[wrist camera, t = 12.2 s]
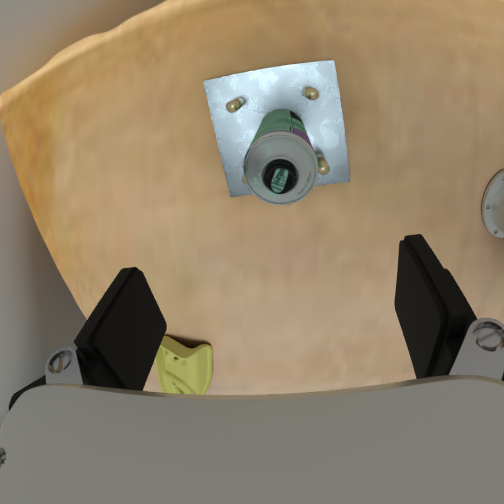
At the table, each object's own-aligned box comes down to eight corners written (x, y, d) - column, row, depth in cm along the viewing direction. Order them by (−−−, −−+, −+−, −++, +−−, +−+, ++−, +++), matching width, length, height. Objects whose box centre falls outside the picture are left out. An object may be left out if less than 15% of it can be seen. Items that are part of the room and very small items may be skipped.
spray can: (265, 154, 38) (249, 227, 22) (255, 113, 36) (227, 152, 19) (308, 146, 37) (328, 213, 20) (299, 104, 35) (313, 133, 18)
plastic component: (150, 338, 59) (188, 362, 54) (174, 320, 64) (212, 341, 60) (161, 395, 68) (194, 417, 64) (181, 378, 74) (212, 397, 70)
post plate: (332, 60, 32) (341, 57, 27) (347, 177, 40) (357, 195, 35) (205, 81, 35) (191, 82, 30) (232, 193, 43) (224, 212, 38)
